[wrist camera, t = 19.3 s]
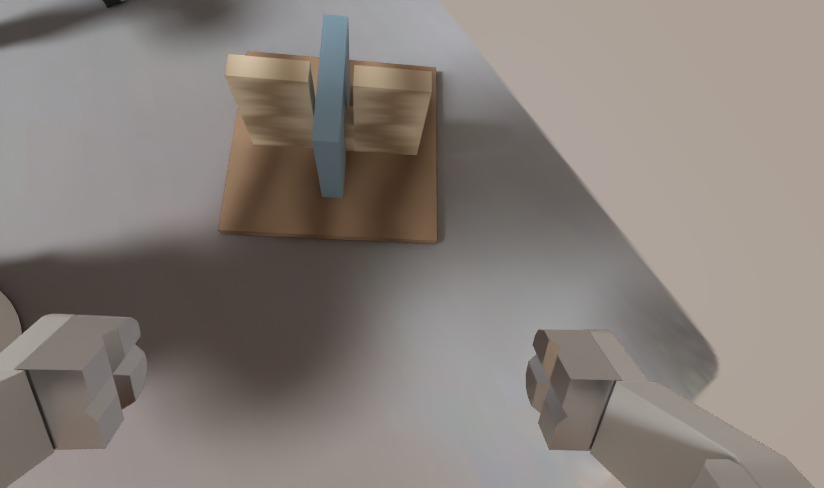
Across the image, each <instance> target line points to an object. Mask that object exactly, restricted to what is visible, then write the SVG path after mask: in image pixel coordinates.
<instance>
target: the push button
mask: <svg viewBox="0 0 824 488" xmlns="http://www.w3.org/2000/svg"><path fill="white" fill-rule="evenodd" d="M103 1H104V3H105V5H106V6H107V7H109V6H112V5H115V4H117V3H120V2H123V1H125V0H103Z"/></svg>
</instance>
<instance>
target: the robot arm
mask: <svg viewBox="0 0 824 488" xmlns="http://www.w3.org/2000/svg"><path fill="white" fill-rule="evenodd" d="M140 336H141V332H140V328H139V324H138V321H137V320H135V319H134V318H132V317H118V316H97V315H75V314H49V315H45V316H42V317H41V318H40V319H39V320H38V321H37V322H35V323H34V324H33V325H32V326H31V327H30V328H29V329H27V330H26V331H25V332H24V333H23V334H22V331H21V325H20V321H19V318H18V315H17V313H16V311H15V309H14V307H13V305H12V304H11V302H10V301H9V300H8V298H7V297H6V296H5V295H4V294H3V293H2V292H1V291H0V488H6V487H8V486H9V485H10V484H12V483H13V482H14V481H16V480H17V479H19V478H20V477H21V476H23V475H24V474H25V473H27V472H28V471H29V470H31V469H32V468H34V467H35V466H36V465H38V464H39V463H40V462H42V461H43V460H44V459H46V458H47V457H49V456H50V455H51V454H53V453H54V450H68V449H105V448H106V447H107V445H108V444H109V442H110V441H111V439H112V437H113V436H114V434H115V433H116V431H117V430H118V428H119V427H120V425H121V423H122V422H123V420H124V417H123V413H122V409H124V408H125V407H127V406H129V405H130V404H132V403H133V402H135V401H136V400H137V398H138V396H139V395H140V393H141V391H142V390H143V387H144V383H145V380H146V376H147V360H146V355H145V353H144V352H143V351H142V350H141V349H140V348H139V347H138V346H137V345H136V344H135V343H136V342H137V340H138V339H139V337H140ZM533 347H534V349H535V351H536V355H535V356H534V357H533V358H532V359H531V360H530V361H528V366H527V371H526V390H527V394H528V398H529V401H530V403H531V406H532V407H533V408H535V409H536V410H537V411H538V412H540V413H541V414H540V418H539V422H538V424H539V426H540V428H541V431H542V433H543V436H544V438H545V441H546V443H547V446H548V448H549V450H577V451H591V452H590V453H591V454H592V455H593V456H594V457H595V458H596V459H597V460H598V461H599V462H600V463H601V464H602V465H603V466H604V467H605V468H606V469H607V470H608V471H609V472H611V473H612V474H613V475H614V476H615V477H616V478H617V479H618V480H619V481H620V482H621V483H622V484H623V485H624V486H625V487H627V488H814V487H813V486H812V485H811V484H810V483H809V481H808V480H807V479H806V478H805V477H804V476H803V475H802V474H801V473H800V472H799V471H798V470H797V469H796V467H794V465H793V464H792V463H791V462H790V461H789V460H788V459H787V458H786V457H784V456H783V455H781V454H779V453H777V452H776V451H774V450H772V449H771V448H769V447H767V446H765V445H764V444H762V443H760V442H759V441H757V440H755V439H753V438H752V437H750V436H748V435H747V434H745V433H743V432H742V431H740V430H738V429H736V428H734V427H733V426H731V425H729V424H728V423H726V422H724V421H723V420H721V419H719V418H718V417H716V416H714V415H712V414H711V413H709V412H707V411H706V410H704V409H702V408H701V407H699V406H697V405H695V404H694V403H692V402H690V401H689V400H687V399H685V398H683V397H682V396H680V395H678V394H677V393H675V392H673V391H671V390H670V389H668V388H666V387H665V386H663V385H661V384H660V383H658V382H649V381H648V379H647V378H646V377H645V375H644V374H643V373H642V371H641V370H640V369H639V367H638V366H637V365H636V363H635V362H634V361H633V360H632V358H631V357H630V356H629V354H628V353H627V352H626V350H625V349H624V348H623V346H622V345H621V344H620V342H619V341H618V340H617V338H616V337H615V336H614V334H613V333H612V332H610V331H608V330H538V331H537V333H536V335H535V338H534V341H533Z"/></svg>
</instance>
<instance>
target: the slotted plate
mask: <svg viewBox="0 0 824 488" xmlns="http://www.w3.org/2000/svg"><path fill="white" fill-rule="evenodd" d="M349 104H350V67H349V32H348V17H346V16H335V15H325V14H324V17H323V28H322V38H321V49H320V59H319V70H318V80H317V91H316V101H315V112H314V123H313V133H312V144H313V150H314V155H315V161H316V166H317V172H318V177H319V183H320V188H321V194H322V197H332V198H343V195H344V180H345V165H346V151H345V133H344V123H345V108H346V106H349Z"/></svg>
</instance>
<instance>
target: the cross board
mask: <svg viewBox="0 0 824 488" xmlns="http://www.w3.org/2000/svg"><path fill="white" fill-rule="evenodd" d="M319 59H320V57H309V56H297V55H285V54H274V53H262V52H251V51H247V53H246V56H244V55H232V54H228V60H227V66H226V71H225V77H226V80H227V82H228V84H229V87H230V89H231V92H232V94H233V97H234V99H235V101H236V104H237V106H238V109H237V115H236V121H235V128H234V134H233V140H232V146H231V152H230V159H229V165H228V171H227V177H226V184H225V190H224V196H223V202H222V208H221V215H220V221H219V227H218V231H219V232H220V233H221V234H235V235H256V236H277V237H299V238H320V239H341V240H362V241H383V242H404V243H425V244H436V242H437V165H436V67H424V66H413V65H401V64H390V63H378V62H367V61H355V60H349V67H350V104H349V106H346V108H345V123H344V133H345V151H346V165H345V180H344V195H343V198H332V197H322V194H321V188H320V183H319V177H318V172H317V166H316V161H315V155H314V150H313V144H312V133H313V123H314V112H315V101H316V91H317V80H318V70H319Z"/></svg>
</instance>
